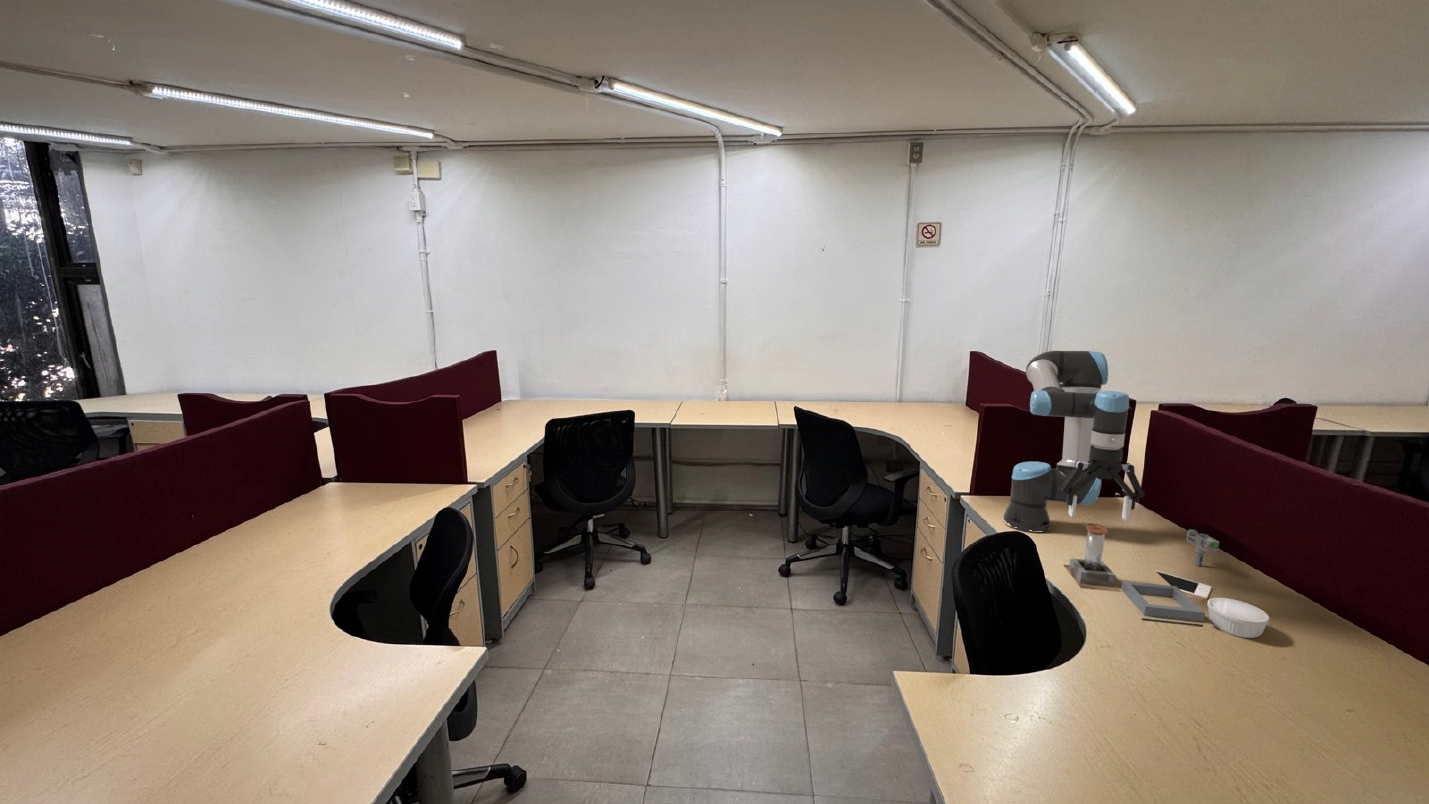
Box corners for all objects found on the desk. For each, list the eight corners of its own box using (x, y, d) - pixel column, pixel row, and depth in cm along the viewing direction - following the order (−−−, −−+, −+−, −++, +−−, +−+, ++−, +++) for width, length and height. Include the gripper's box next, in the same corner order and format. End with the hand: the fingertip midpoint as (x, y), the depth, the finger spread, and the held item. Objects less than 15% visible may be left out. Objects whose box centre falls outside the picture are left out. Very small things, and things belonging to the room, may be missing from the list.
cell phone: (1206, 601, 150) (1206, 598, 149) (1126, 577, 163) (1127, 574, 163) (1211, 589, 155) (1211, 586, 155) (1134, 567, 169) (1134, 564, 168)
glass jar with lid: (1077, 572, 162) (1083, 522, 159) (1096, 574, 161) (1103, 524, 158) (1084, 580, 158) (1090, 529, 155) (1104, 582, 156) (1110, 531, 153)
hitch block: (1062, 569, 168) (1064, 554, 167) (1099, 572, 165) (1101, 557, 164) (1080, 592, 154) (1082, 576, 153) (1120, 596, 152) (1122, 580, 151)
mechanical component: (1190, 557, 173) (1195, 528, 171) (1216, 573, 163) (1222, 543, 161) (1180, 557, 173) (1185, 528, 171) (1206, 573, 163) (1211, 542, 161)
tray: (1120, 594, 153) (1122, 581, 152) (1174, 599, 150) (1176, 586, 149) (1143, 620, 141) (1145, 606, 140) (1202, 626, 138) (1205, 612, 137)
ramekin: (1194, 613, 144) (1197, 595, 143) (1244, 617, 141) (1247, 599, 140) (1224, 639, 133) (1227, 619, 132) (1278, 643, 131) (1282, 624, 130)
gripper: (1061, 447, 151) (1054, 519, 155) (1166, 452, 145) (1155, 526, 149) (1052, 441, 158) (1045, 509, 162) (1151, 445, 152) (1142, 516, 156)
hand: (1098, 517), depth 156 cm, fingers open, 13 cm apart
